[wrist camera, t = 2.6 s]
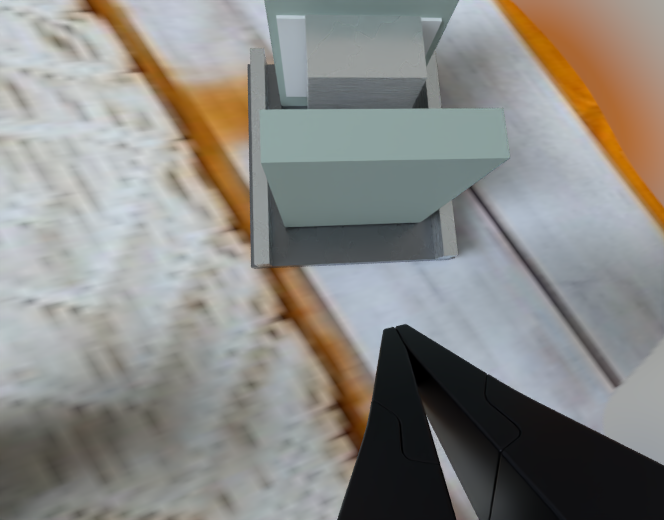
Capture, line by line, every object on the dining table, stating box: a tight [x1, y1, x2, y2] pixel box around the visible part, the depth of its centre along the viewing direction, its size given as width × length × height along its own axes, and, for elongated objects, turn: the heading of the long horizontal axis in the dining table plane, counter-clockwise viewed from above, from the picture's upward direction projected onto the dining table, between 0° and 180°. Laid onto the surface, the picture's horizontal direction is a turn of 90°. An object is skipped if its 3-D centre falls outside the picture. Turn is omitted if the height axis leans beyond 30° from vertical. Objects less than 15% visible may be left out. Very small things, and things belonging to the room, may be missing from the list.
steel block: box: [305, 14, 427, 109], centre depth 19 cm, size 4×6×8 cm, turn 93°
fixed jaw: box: [264, 0, 459, 106], centre depth 18 cm, size 2×10×10 cm, turn 93°
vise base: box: [248, 48, 458, 269], centre depth 22 cm, size 16×15×2 cm
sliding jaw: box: [260, 108, 510, 227], centre depth 17 cm, size 2×10×10 cm, turn 93°
